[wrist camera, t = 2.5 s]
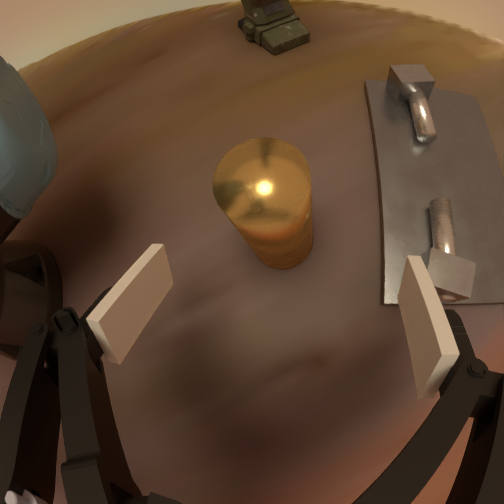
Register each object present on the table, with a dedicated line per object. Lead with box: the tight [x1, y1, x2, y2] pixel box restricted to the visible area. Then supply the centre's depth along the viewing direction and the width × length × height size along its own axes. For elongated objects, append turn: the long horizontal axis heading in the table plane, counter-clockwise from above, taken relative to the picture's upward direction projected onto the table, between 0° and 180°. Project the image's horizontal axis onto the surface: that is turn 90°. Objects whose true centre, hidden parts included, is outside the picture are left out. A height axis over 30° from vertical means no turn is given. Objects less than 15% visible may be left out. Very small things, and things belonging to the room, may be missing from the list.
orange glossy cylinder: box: [213, 138, 313, 269], centre depth 20 cm, size 5×5×11 cm
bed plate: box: [364, 64, 504, 305], centre depth 21 cm, size 23×14×5 cm, turn 175°
